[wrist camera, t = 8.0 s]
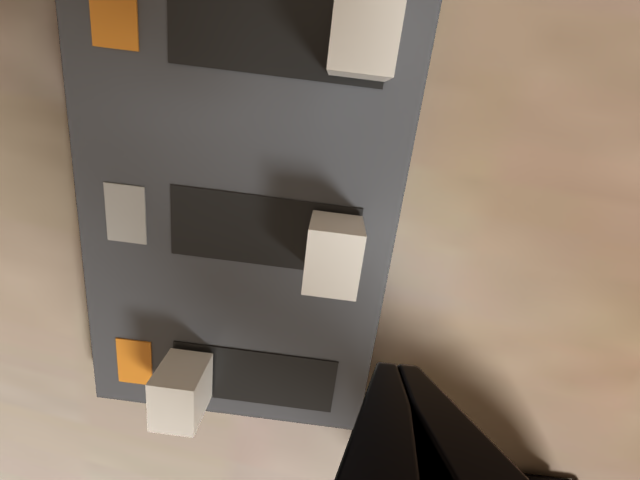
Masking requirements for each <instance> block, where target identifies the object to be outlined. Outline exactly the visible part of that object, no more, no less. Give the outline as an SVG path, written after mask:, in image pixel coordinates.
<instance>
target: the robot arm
mask: <svg viewBox="0 0 640 480" xmlns="http://www.w3.org/2000/svg"><path fill="white" fill-rule="evenodd" d="M335 480H569V479H561V478H554V477H546V476H538V475H530V474H523V473H522V472H521V471H520V470H519V469H518V468H517V467H516V466H515V465H514V464H513V463H512V462H511V461H510V460H509V459H508V458H507V457H506V456H505V455H504V454H503V453H502V452H501V451H500V450H499V449H498V447H497V446H496V445H495V444H494V443H493V442H492V441H491V440H490V439H489V438H488V437H487V436H486V435H485V434H484V433H483V432H482V431H481V430H480V429H479V428H478V427H477V426H476V425H475V424H474V423H473V422H472V421H471V420H470V419H469V418H468V417H467V416H466V415H465V414H464V413H463V412H462V411H461V410H460V409H459V408H458V407H457V406H456V405H455V404H454V403H453V402H452V401H451V400H450V399H449V398H448V397H447V396H446V395H445V394H444V393H443V392H442V391H441V390H440V389H439V388H438V387H437V385H436V384H435V383H434V382H433V381H432V380H431V379H430V378H429V377H428V376H427V375H426V374H425V373H424V372H423V371H422V370H421V369H420V368H419V367H417V366H415V365H404V364H399V365H398V366H397V365H396V364H393V363H382V362H379V363H377V364H376V367H375V370H374V372H373V375H372V378H371V381H370V383H369V386H368V389H367V392H366V394H365V397H364V400H363V403H362V405H361V408H360V411H359V414H358V416H357V419H356V422H355V425H354V427H353V430H352V433H351V436H350V438H349V441H348V444H347V447H346V449H345V452H344V455H343V458H342V460H341V463H340V466H339V469H338V471H337V474H336V477H335Z"/></svg>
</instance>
